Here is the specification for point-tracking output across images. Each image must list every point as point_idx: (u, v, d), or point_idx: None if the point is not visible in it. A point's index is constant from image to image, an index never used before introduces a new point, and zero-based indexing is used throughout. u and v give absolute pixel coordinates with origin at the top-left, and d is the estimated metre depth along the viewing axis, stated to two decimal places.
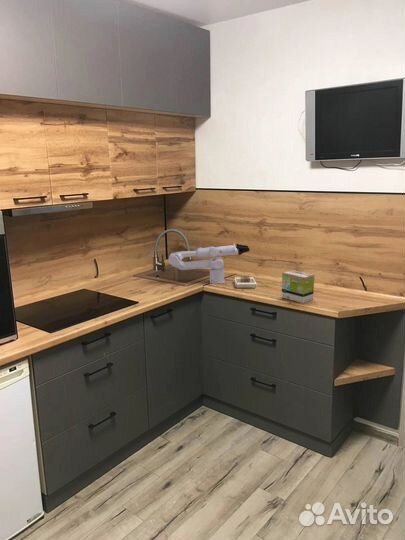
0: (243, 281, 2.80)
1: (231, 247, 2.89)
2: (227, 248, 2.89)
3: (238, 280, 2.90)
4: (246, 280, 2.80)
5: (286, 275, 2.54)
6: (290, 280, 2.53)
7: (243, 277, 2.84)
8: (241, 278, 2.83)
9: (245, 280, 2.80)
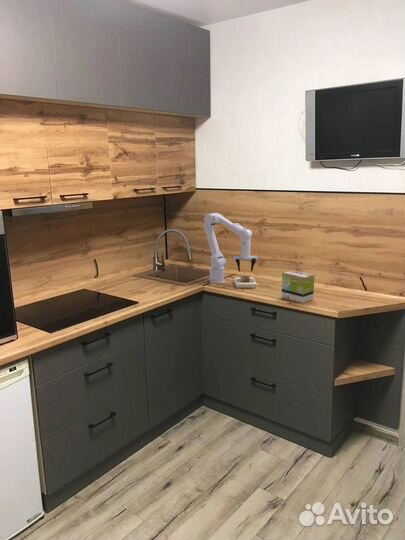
0: (243, 281, 2.80)
1: (242, 254, 2.79)
2: (242, 250, 2.79)
3: (238, 280, 2.90)
4: (246, 280, 2.80)
5: (286, 275, 2.54)
6: (290, 280, 2.53)
7: (243, 277, 2.84)
8: (241, 278, 2.83)
9: (245, 280, 2.80)
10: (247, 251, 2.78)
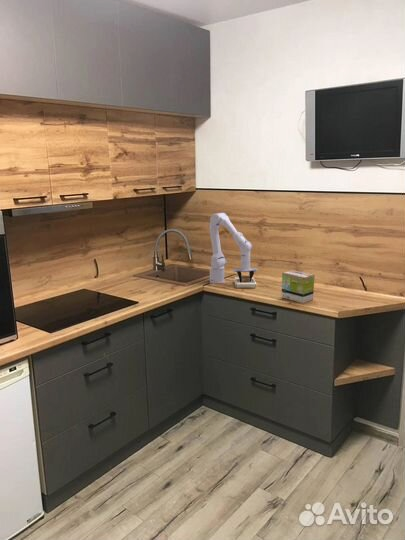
0: (243, 281, 2.80)
1: (242, 266, 2.81)
2: (242, 262, 2.80)
3: (238, 280, 2.90)
4: (246, 280, 2.80)
5: (286, 275, 2.54)
6: (290, 280, 2.53)
7: (243, 277, 2.84)
8: (241, 278, 2.83)
9: (245, 280, 2.80)
10: (247, 263, 2.79)
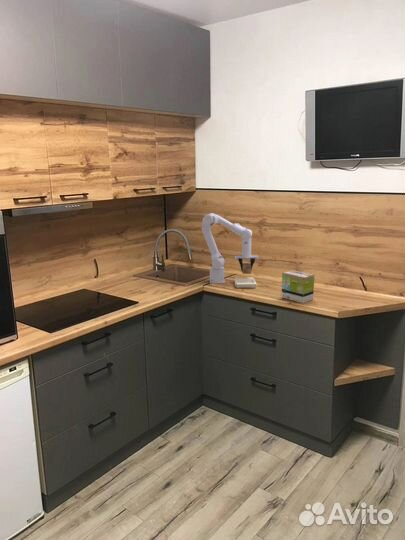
0: (244, 268, 2.84)
1: (243, 253, 2.84)
2: (243, 249, 2.84)
3: (238, 280, 2.90)
4: (247, 267, 2.84)
5: (286, 275, 2.54)
6: (290, 280, 2.53)
7: (244, 264, 2.87)
8: (242, 265, 2.86)
9: (246, 267, 2.84)
10: (248, 250, 2.83)
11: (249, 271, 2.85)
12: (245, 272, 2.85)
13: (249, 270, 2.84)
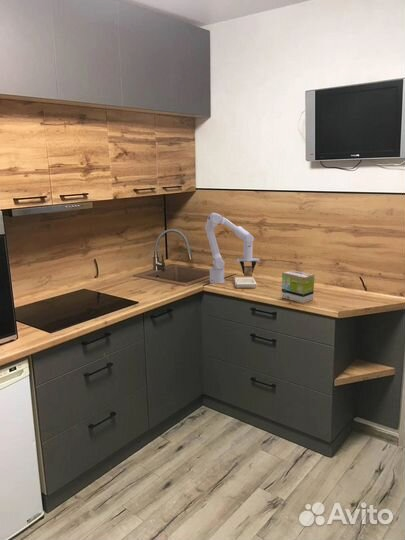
0: (246, 270, 2.93)
1: (245, 256, 2.94)
2: (244, 252, 2.93)
3: (238, 280, 2.90)
4: (248, 270, 2.93)
5: (286, 275, 2.54)
6: (290, 280, 2.53)
7: (246, 267, 2.97)
8: (244, 268, 2.96)
9: (248, 270, 2.93)
10: (249, 254, 2.92)
11: (250, 273, 2.94)
12: (247, 275, 2.94)
13: (250, 273, 2.94)
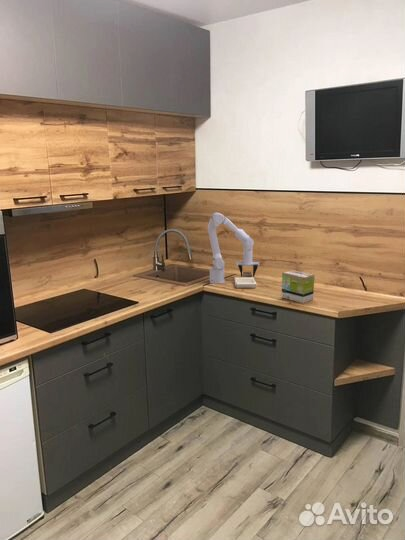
0: (245, 276, 2.94)
1: (245, 260, 2.94)
2: (244, 256, 2.94)
3: (238, 280, 2.90)
4: (248, 276, 2.94)
5: (286, 275, 2.54)
6: (290, 280, 2.53)
7: (245, 273, 2.98)
8: (244, 274, 2.96)
9: (247, 276, 2.94)
10: (249, 257, 2.93)
11: None
12: None
13: None
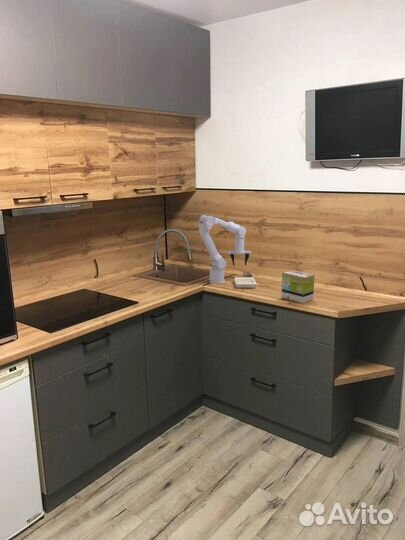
0: (245, 276, 2.94)
1: (236, 249, 2.96)
2: (236, 245, 2.96)
3: (238, 280, 2.90)
4: (248, 276, 2.94)
5: (286, 275, 2.54)
6: (290, 280, 2.53)
7: (245, 273, 2.98)
8: (244, 274, 2.96)
9: (247, 276, 2.94)
10: (241, 246, 2.95)
11: None
12: None
13: None
